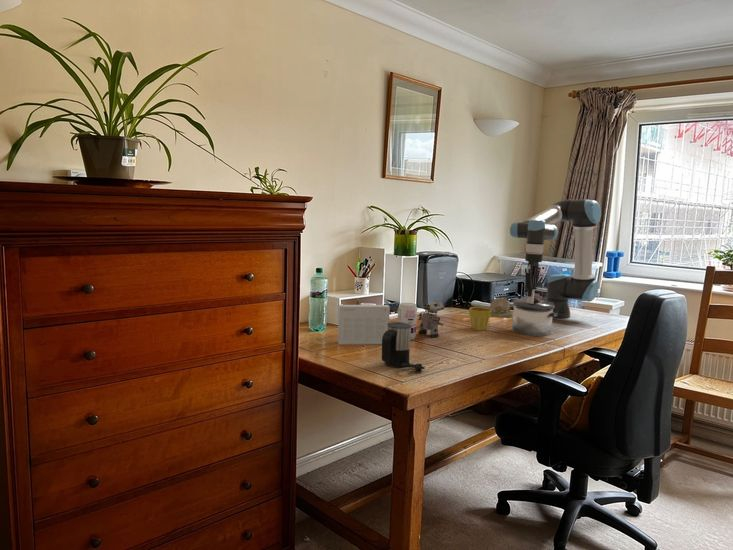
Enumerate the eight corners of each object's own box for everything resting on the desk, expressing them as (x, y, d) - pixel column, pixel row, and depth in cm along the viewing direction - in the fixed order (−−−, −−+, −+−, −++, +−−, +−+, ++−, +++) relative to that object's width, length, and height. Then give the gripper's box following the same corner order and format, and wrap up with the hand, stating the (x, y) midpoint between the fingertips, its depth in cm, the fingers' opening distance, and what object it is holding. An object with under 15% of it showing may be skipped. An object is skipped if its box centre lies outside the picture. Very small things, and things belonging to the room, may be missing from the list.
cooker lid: (523, 300, 279) (523, 292, 278) (560, 306, 266) (561, 298, 266) (506, 305, 264) (506, 296, 264) (544, 311, 252) (545, 302, 251)
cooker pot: (519, 324, 282) (521, 301, 281) (562, 332, 268) (564, 307, 267) (501, 330, 267) (503, 305, 265) (546, 338, 253) (548, 313, 252)
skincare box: (386, 341, 236) (388, 304, 234) (389, 344, 231) (390, 307, 229) (336, 341, 232) (338, 303, 230) (338, 344, 227) (340, 306, 225)
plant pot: (490, 332, 262) (491, 311, 261) (467, 330, 264) (469, 309, 263) (489, 327, 272) (491, 307, 271) (468, 325, 274) (469, 306, 273)
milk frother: (388, 359, 209) (390, 320, 207) (429, 364, 204) (432, 325, 202) (377, 369, 195) (379, 328, 193) (421, 375, 191) (424, 333, 189)
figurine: (447, 335, 251) (450, 303, 249) (428, 338, 244) (430, 304, 242) (434, 331, 258) (436, 299, 256) (415, 334, 251) (417, 301, 250)
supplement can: (405, 334, 249) (407, 301, 247) (419, 338, 243) (421, 304, 241) (392, 337, 243) (394, 303, 241) (407, 341, 237) (409, 306, 235)
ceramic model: (485, 315, 303) (486, 297, 301) (490, 312, 313) (491, 294, 311) (511, 318, 297) (512, 300, 295) (515, 315, 307) (517, 297, 305)
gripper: (532, 251, 266) (528, 300, 269) (520, 253, 256) (516, 303, 259) (547, 253, 261) (543, 302, 264) (536, 254, 251) (531, 305, 254)
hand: (530, 303), depth 262 cm, fingers closed
